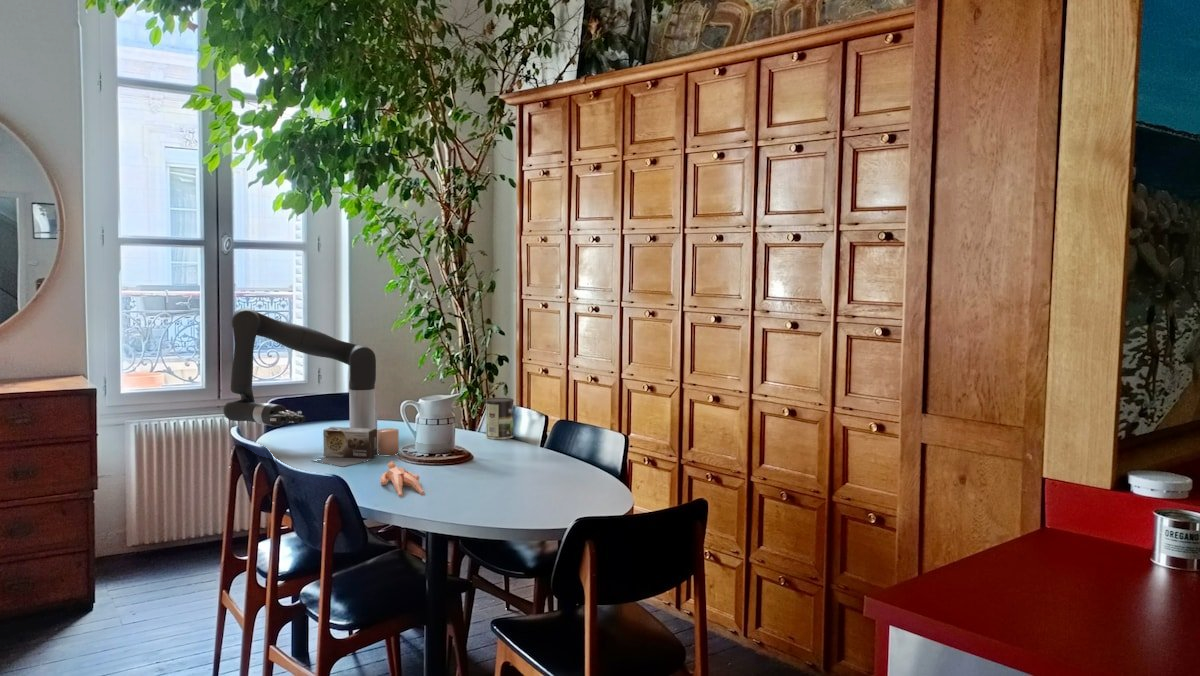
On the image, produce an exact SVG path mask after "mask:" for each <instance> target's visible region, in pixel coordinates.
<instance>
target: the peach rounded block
mask: <svg viewBox="0 0 1200 676" xmlns="http://www.w3.org/2000/svg"><path fill="white" fill-rule="evenodd" d="M399 431H400V430H399V429H398V428H393V427H392V428H380V429H377V454H379V455H378V456H380V455H394V456H396V455H395V454H397V453H398V452H399V453H400V447H399V446H400V443H399V439H400V438H399V437H400V436H399V434H400V433H399ZM397 455H398V454H397Z"/></svg>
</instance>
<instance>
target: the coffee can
mask: <svg viewBox="0 0 1200 676" xmlns="http://www.w3.org/2000/svg"><path fill="white" fill-rule="evenodd" d="M485 438H486V439H489V440H509V439H512V438H514V399H513V398H509V397H490V398H486V399H485Z"/></svg>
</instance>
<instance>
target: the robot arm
mask: <svg viewBox="0 0 1200 676" xmlns="http://www.w3.org/2000/svg"><path fill="white" fill-rule="evenodd" d="M231 326H232V329H233V339H234V340H233V341H234V350H233V351H234V352H233V360H232V366H231V374H230V375H231V376H230V391H231V392H232V393H233V394H236V395H240V399H235V400H229V401H227V402H226V403H225V405H224V406H223V415H224V417H226V419H228V420H229V421H232V422H251V423H256V424H260V425H264V426H271V427H281V426H283V424H290V423H292V424H294V423H296V424H303V423H306V416H305V415H303V414H302V413H303V412H302V410H298V411H296V412H295V411H291V410H290V409H286V407H285V406H284V405H282V404H276V403H270V402H269V403H268V402H258V401H255V398H254V397H255V396H254V393H253V392H254V391H253V375H254V352H255V351H254V349H255V341H256V339H257V338H256V337H257V336H258V337H261V338H266V339H268V340H271V341H274V342H275V343H278V344H280V345H282V346H284V347H285V348H288V349H290V350H293V351H295V352H297V353H298V352H299V353H301V354H305V355H310V356H314V357H319V358H327V359H332V360H335V361H338V362H340V363H343V364H344V365H345V364H346V365H348V366H350V369H349V371H350V372H349V373H350V374H349V375H350V377H349V384H348V389H349V390H348V392H349V393H348V394H349V396H348V398H349V401H348V402H349V405H348V406H349V428H367V429H377V430H378V408H377V407H376V397H375V396H376V380H377V379H376V378H377V359H376V354H375V352H374V351H373V349H371V348H370V347H368V346H366V345H361V344H356V343H353V342H352V343H351V342H348V341H342V340H340V339H337V338H334V337H332V336H330V335H328V334H326V333H323V332H322V331H318V330H316V329H312V328H310V327H307V326H303V325H299V324H296V323H292V322H287V321H284V320H280V319H279V320H278V319H276V318H272V317H270V316H267V315H264V314H262V313H260V312H259V311H255V310H254V309H251V308H248V307H244V308H243V307H241V308H239V309H237V310H236V311H235V312H234V313H233V314H232V316H231Z"/></svg>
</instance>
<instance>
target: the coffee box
mask: <svg viewBox="0 0 1200 676" xmlns="http://www.w3.org/2000/svg"><path fill="white" fill-rule="evenodd" d="M377 430H378V428H377V429H367V428H350V427H345V426H344V427H343V426H329V427H327V428H325V429H323V430H322V431H323V435H322V436H323V457H344V458H363V459H372V458H373V457H376V456H378V455H377Z"/></svg>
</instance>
